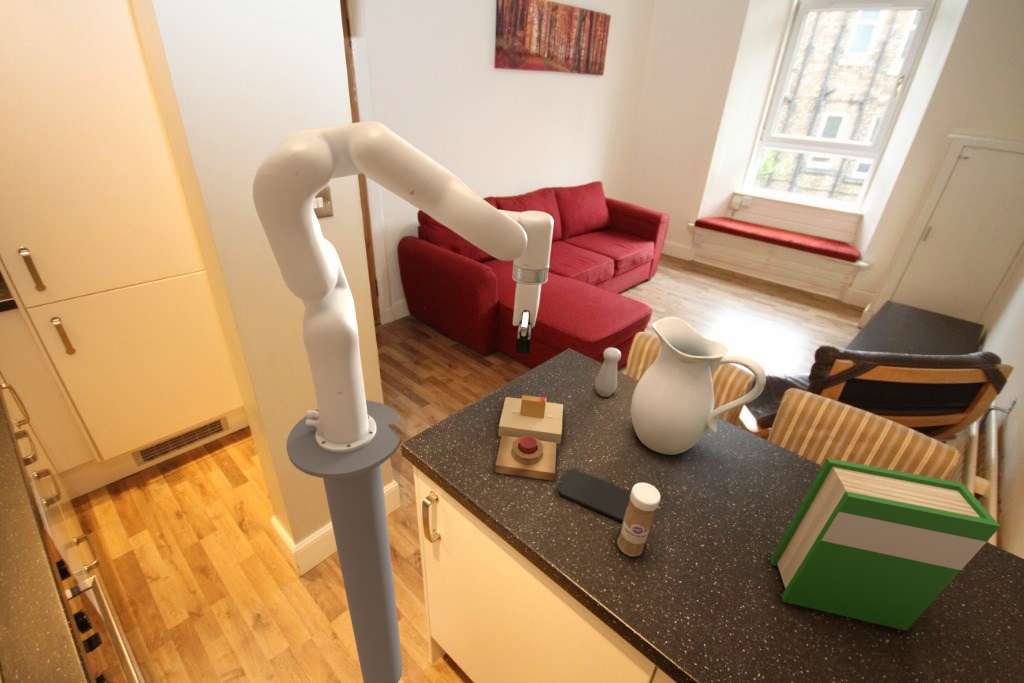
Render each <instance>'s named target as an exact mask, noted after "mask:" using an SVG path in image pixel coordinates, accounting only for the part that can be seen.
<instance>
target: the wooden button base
mask: <svg viewBox="0 0 1024 683" xmlns="http://www.w3.org/2000/svg"><path fill="white" fill-rule="evenodd" d="M523 437H525V436H523ZM521 438H522V437H519V438H518V437H511V436H503V435H502V437H501V436H500V442H499V446H498V451H497V457H496V460H495V464H494V465H495V467H494V473H496V474H503V475H510V476H517V477H523V478H529V479H530V478H531V479H537V480H545V481H552V482H554V480H555V474H556V458H557V444H556V443H555V442H547V441H540V440H538V439H536V438H535V439H536V441H537V447H536V451H535V452H534V453H533V454H524V453H522V452H521V451H520V450H519V442H520V439H521ZM533 438H534V437H533Z"/></svg>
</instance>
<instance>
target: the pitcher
mask: <svg viewBox="0 0 1024 683" xmlns="http://www.w3.org/2000/svg"><path fill="white" fill-rule="evenodd" d="M651 328H652V329H653V331H654V332H655V334H656V335H657V337H658V339H659V341H660V346H661V347H660V352H659V354H658V356H657V357H656V358H655V360H654V361H653V362H652V363H651V364H650V366H648V368H647V369H646V370H645V372H644V373H643V375H642V376H641V377H640V378H639V380H638V383H637V384H636V386H635V388H634V391H633V394H632V397H631V402H630V417H631V423H632V426H633V429H634V432H635V434H636V436H637V438H638V439H639V441H640V442H641V443H642V444H643V445H644V446H645V447H647V448H648V449H650V450H651V451H654V452H656V453H659V454H662V455H670V456H674V455H679V454H682V453H685V452H686V451H688V450H689V449H691V448H692V447H694V446H695V445H696V444H698V443H699V442H700V441H701V440H702V439H703V438H704V436H705V434H706V433H707V431H708V430H709V431H710V432H712V433H713V434H716V433H717V432H718V427H717V419H718V418H719V417H720V416H722V415H723V414H725V413H728V412H730V411H733V410H735V409H737V408H740V407H742V406H745V405H747V404H749V403H751V402H753V401H754V400H756V399H758V397H759V396H760V395H761V394H762V393H763V391H764V389H765V387H766V384H767V375H766V372H765V370H764V368H763V366H762V365H761V363H759V362H758V361H757V360H756V359H754V358H752V357H750V356H747V355H745V354H728V352H729V348H728V347H727V345H726V344H724V343H722V342H720V341H718V340H713V339H710V338H708V337H707V336H704V335H702V333H700V332H699V331H697V330H696V329H695V328H694V327H693V326H691V325H690V324H689V323H688V322H686V321H685V320H683V319H682V318H680V317H677V316H667V317H663V318H661V319H658V320H656V321H654V322H653V323H652V324H651ZM726 364H734V365H735V364H736V365H739V366H742V367H743V368H744V367H745V368H746V369H747V370H749V371H750V372H751V373H752V375H753V376H754V378H755V385H754V386H753V388H752V389H751V390H750V391H749V392H748V393H747V394H745V395H743V396H741V397H739V398H737V399H735V400H733V401H730V402H728V403H725V404H724V405H721V406H719V407H717V408H715V395H714V394H715V393H714V385H713V377H712V373H715V372H717V371H718V370H719V368H720V367H721V365H726ZM714 408H715V409H714Z"/></svg>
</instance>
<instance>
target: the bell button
mask: <svg viewBox="0 0 1024 683" xmlns="http://www.w3.org/2000/svg"><path fill="white" fill-rule="evenodd" d="M536 447H537V441H536V439H535V438H533V437H530V436H525V437H522V438H521V439H520V442H519V450H520V451H521V452H522V453H524V454H533V453H534V452H535V451H536Z"/></svg>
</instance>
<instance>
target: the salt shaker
mask: <svg viewBox="0 0 1024 683" xmlns="http://www.w3.org/2000/svg"><path fill="white" fill-rule="evenodd" d="M602 356H603V362H602V365H601V367H600V370H599V372H598V374H597V376H596V378H595V381H594V388H595V391H596V394H598V395H599V396H601V397H604V398H610V397H611V395H613V393H615V392H616V390H617V388H618V362H620V360H621V359H622V358H621V357H622V353H621V351H620V350H619V349H618V348H616V347H607V348H605V349H604V351H603V355H602Z"/></svg>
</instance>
